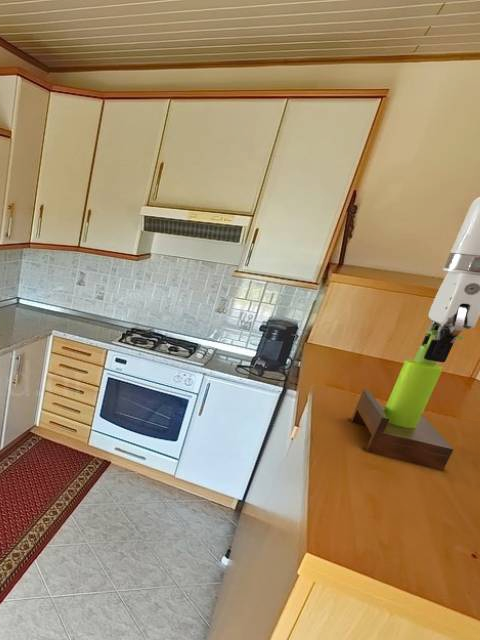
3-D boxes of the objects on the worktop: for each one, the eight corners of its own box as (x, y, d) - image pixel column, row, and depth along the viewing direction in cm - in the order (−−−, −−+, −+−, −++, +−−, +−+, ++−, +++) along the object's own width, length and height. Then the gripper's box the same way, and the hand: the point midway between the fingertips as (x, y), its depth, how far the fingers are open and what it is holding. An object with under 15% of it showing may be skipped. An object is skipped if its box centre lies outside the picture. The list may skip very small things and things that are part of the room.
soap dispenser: (427, 431, 100) (472, 337, 93) (387, 424, 102) (427, 331, 95) (414, 421, 105) (455, 331, 98) (376, 414, 107) (414, 325, 100)
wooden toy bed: (413, 435, 111) (429, 403, 108) (442, 472, 94) (461, 435, 91) (350, 420, 116) (363, 389, 113) (366, 452, 99) (382, 417, 96)
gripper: (519, 272, 83) (470, 373, 90) (481, 266, 97) (441, 353, 103) (462, 265, 86) (418, 363, 93) (433, 260, 100) (397, 346, 107)
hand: (431, 357), depth 98 cm, fingers closed on soap dispenser, 3 cm apart
